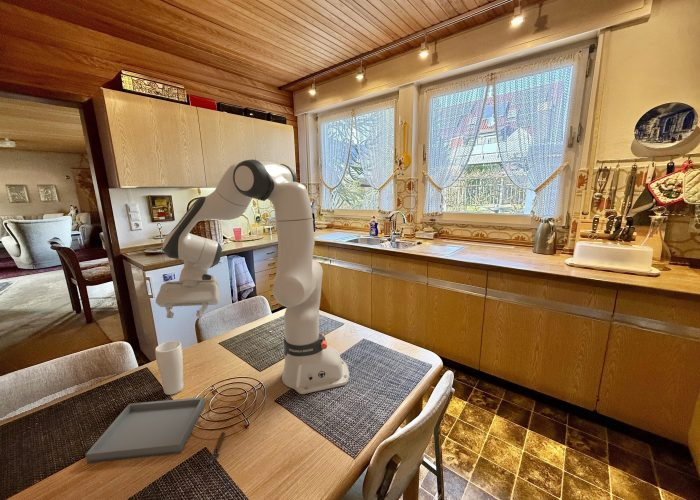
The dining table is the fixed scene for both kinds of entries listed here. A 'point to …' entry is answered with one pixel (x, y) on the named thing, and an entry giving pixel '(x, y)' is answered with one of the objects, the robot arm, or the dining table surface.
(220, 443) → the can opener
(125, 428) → the tray
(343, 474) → the dining table surface
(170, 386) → the drinking glass
